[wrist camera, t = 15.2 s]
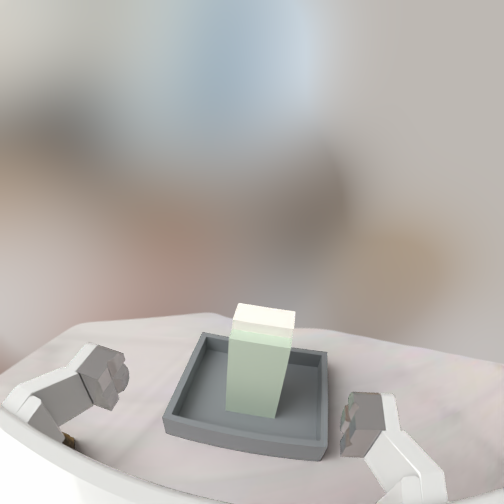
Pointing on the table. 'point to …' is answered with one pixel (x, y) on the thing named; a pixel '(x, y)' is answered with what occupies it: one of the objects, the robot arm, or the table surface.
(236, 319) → the juice carton
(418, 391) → the table surface
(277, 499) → the table surface
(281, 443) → the tray
